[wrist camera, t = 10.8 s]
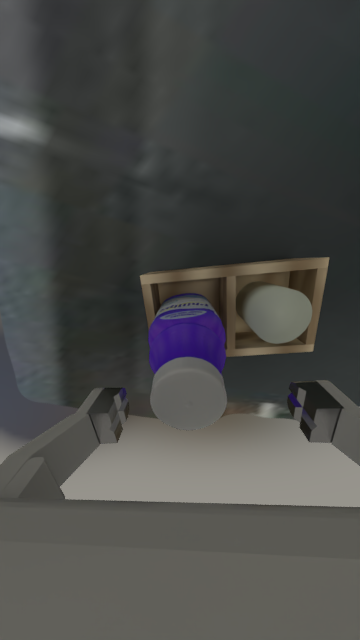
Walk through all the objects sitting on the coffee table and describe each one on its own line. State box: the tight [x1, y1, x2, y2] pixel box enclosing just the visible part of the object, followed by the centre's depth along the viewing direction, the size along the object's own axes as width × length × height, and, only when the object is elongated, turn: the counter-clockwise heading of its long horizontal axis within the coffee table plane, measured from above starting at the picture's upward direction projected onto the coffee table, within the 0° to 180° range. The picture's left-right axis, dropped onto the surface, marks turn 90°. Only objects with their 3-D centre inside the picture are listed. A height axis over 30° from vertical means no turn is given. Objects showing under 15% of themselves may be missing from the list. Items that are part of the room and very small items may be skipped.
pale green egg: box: [236, 281, 312, 344], centre depth 21 cm, size 6×6×7 cm
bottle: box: [148, 293, 227, 430], centre depth 17 cm, size 7×6×17 cm
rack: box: [140, 257, 330, 357], centre depth 23 cm, size 20×11×6 cm, turn 95°
